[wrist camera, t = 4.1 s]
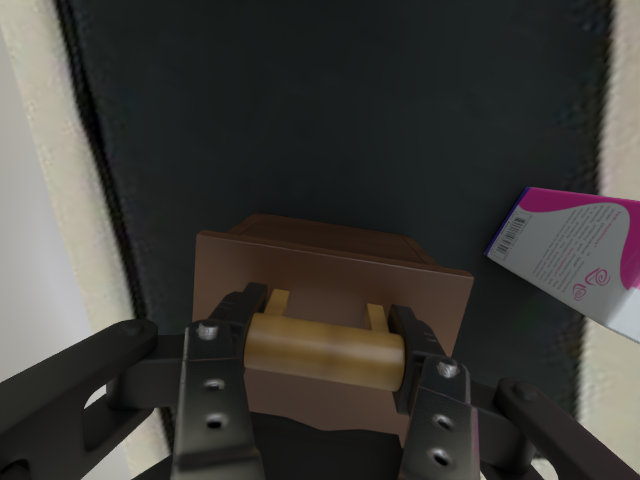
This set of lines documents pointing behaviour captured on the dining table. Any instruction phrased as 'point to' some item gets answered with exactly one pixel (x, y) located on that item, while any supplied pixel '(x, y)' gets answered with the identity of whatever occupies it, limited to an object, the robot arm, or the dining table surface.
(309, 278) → the lid
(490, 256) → the supplement box
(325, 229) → the chest
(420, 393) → the robot arm
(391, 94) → the dining table surface
